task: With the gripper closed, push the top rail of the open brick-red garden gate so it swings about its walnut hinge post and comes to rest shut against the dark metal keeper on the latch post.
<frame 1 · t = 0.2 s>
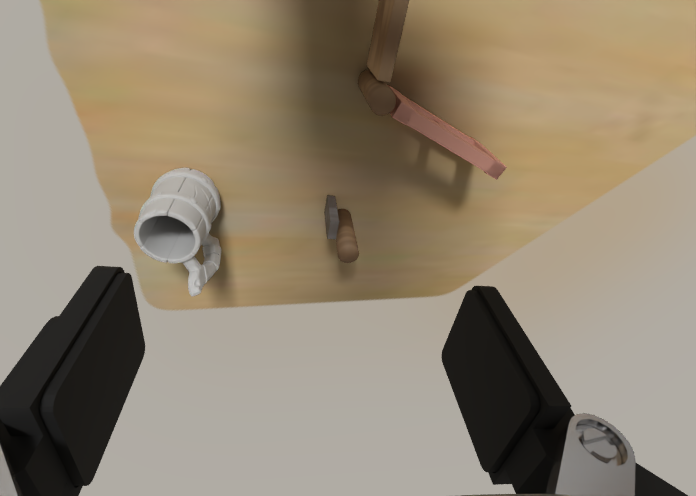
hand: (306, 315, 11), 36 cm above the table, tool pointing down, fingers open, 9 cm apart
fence: (369, 81, 42), on the table
mug: (199, 207, 49), on the table
gate: (441, 131, 42), point 4 cm above the table, hinge at 70.0°
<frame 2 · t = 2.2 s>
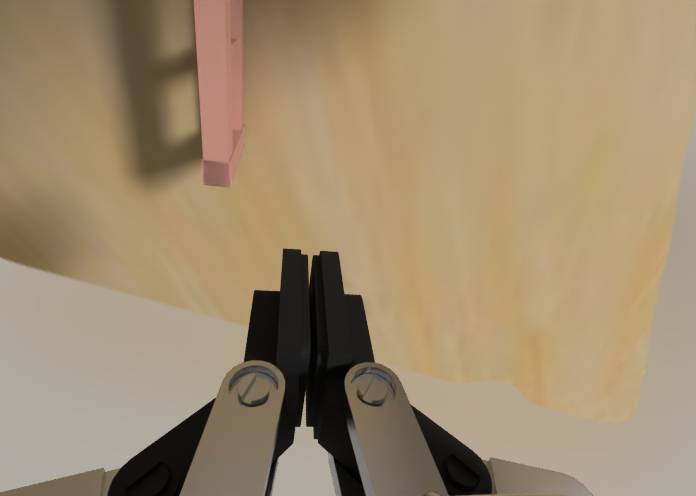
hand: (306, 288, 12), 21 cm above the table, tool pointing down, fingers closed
gate: (223, 52, 23), point 4 cm above the table, hinge at 70.0°
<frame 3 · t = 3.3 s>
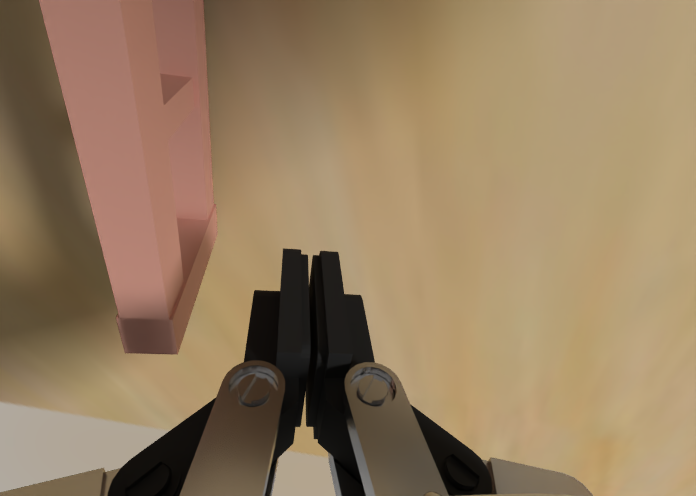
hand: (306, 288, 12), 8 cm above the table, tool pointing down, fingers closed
gate: (159, 109, 12), point 4 cm above the table, hinge at 70.0°
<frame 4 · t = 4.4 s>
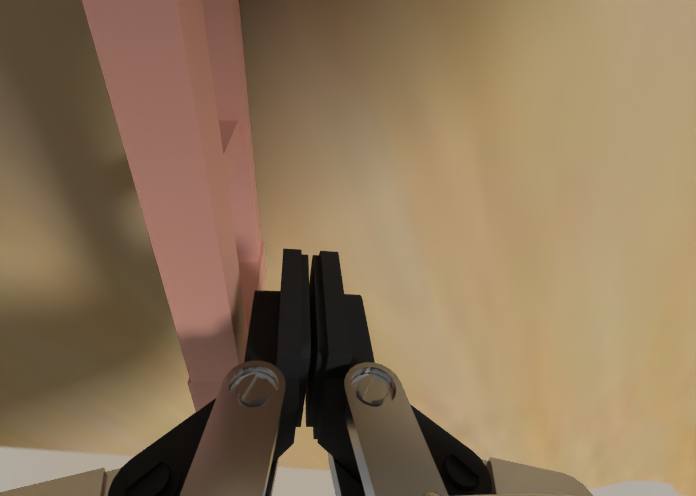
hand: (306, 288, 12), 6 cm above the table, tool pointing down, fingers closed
gate: (212, 160, 11), point 4 cm above the table, hinge at 67.8°, touching gripper
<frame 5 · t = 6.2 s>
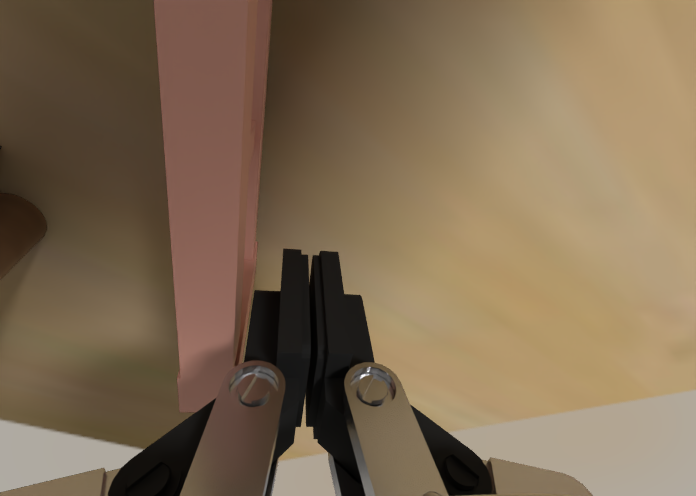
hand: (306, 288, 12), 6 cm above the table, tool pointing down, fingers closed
gate: (229, 158, 11), point 4 cm above the table, hinge at 32.6°, touching gripper
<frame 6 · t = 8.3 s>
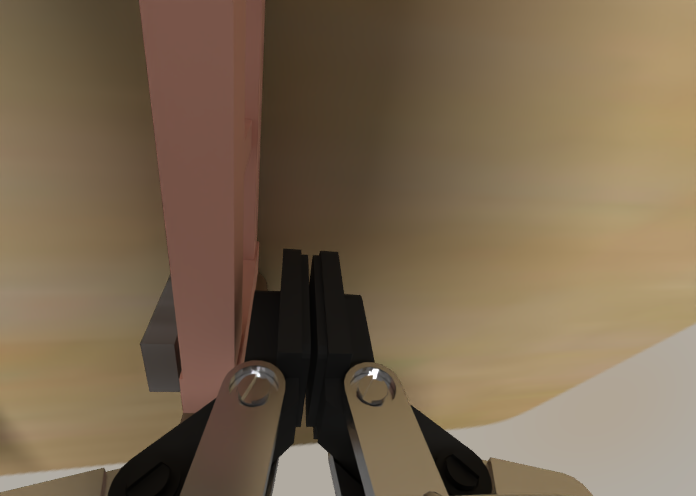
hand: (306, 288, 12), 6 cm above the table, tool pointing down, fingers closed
gate: (226, 157, 11), point 4 cm above the table, hinge at -0.2°, touching gripper
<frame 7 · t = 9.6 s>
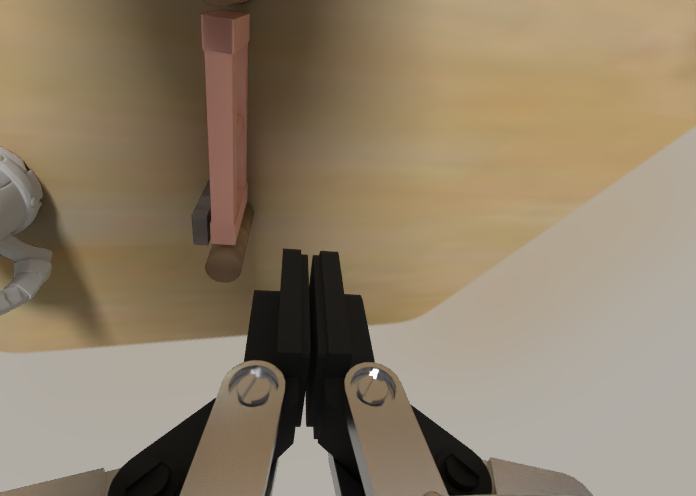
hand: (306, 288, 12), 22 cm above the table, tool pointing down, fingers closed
mug: (15, 203, 32), on the table
gate: (230, 130, 26), point 4 cm above the table, hinge at -0.2°
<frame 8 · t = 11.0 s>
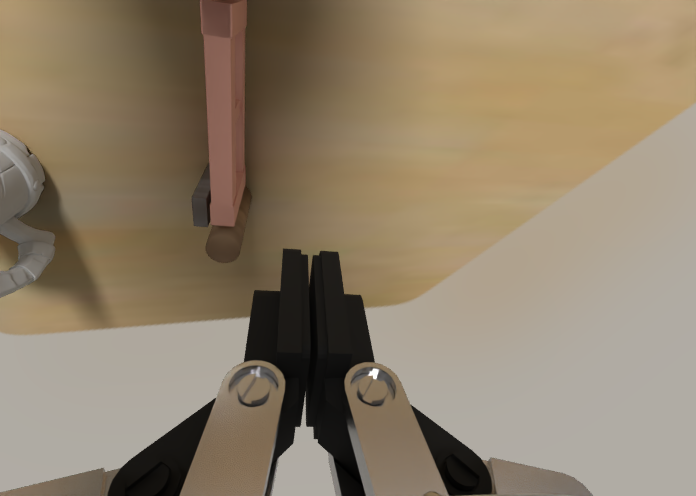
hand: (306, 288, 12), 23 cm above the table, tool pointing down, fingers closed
mug: (18, 186, 33), on the table
gate: (228, 114, 27), point 4 cm above the table, hinge at -0.2°
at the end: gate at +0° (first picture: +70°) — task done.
